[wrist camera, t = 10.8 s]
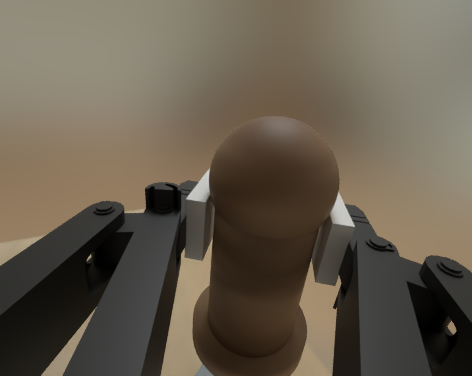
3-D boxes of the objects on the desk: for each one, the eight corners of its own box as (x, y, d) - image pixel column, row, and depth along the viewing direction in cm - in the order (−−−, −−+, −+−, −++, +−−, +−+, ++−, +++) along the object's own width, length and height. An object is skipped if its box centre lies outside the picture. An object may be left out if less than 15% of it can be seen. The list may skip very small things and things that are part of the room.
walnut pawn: (168, 344, 12) (162, 110, 8) (229, 274, 17) (247, 101, 12) (279, 421, 10) (360, 152, 5) (314, 316, 14) (375, 122, 10)
